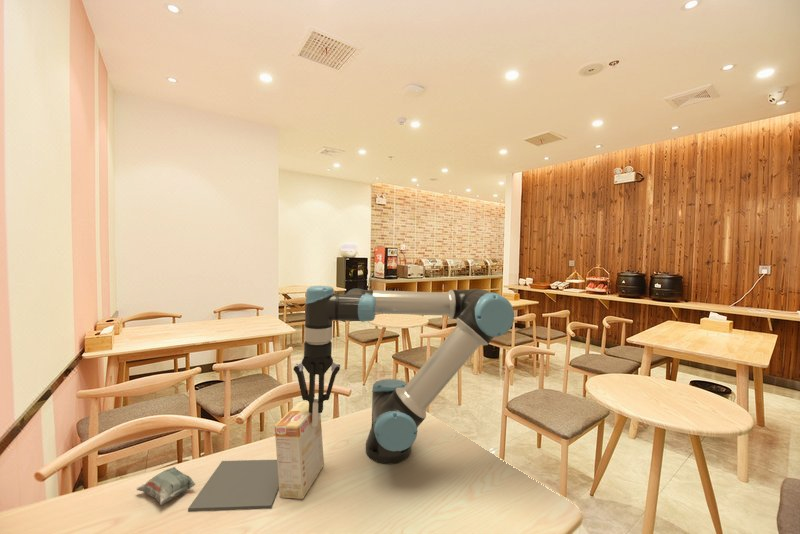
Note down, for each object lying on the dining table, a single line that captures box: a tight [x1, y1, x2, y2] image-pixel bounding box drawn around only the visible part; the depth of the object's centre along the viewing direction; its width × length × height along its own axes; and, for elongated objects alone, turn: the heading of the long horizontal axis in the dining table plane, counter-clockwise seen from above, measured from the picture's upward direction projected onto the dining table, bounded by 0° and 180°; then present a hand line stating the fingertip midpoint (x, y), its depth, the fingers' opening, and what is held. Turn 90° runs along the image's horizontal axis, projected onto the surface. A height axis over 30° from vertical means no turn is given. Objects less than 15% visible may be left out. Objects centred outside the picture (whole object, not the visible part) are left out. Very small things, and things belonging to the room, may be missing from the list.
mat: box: [187, 459, 279, 513], centre depth 93 cm, size 20×19×1 cm
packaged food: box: [136, 467, 196, 506], centre depth 89 cm, size 9×12×5 cm
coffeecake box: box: [274, 400, 325, 500], centre depth 95 cm, size 15×7×20 cm, turn 171°
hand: (315, 423), depth 95 cm, fingers closed
